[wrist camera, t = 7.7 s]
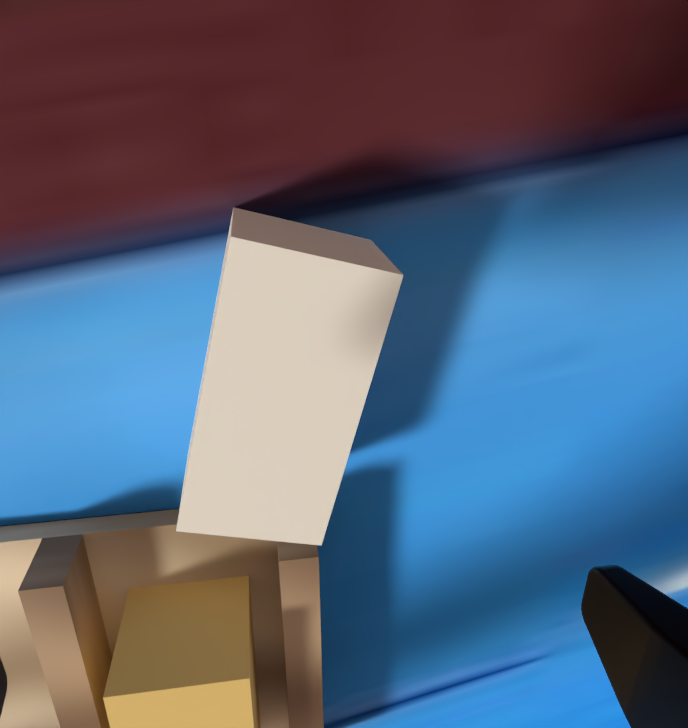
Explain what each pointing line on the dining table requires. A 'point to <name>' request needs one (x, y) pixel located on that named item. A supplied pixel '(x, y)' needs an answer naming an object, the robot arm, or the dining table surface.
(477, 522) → the dining table surface
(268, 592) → the comb board
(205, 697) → the ochre bar
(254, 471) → the cream bar
